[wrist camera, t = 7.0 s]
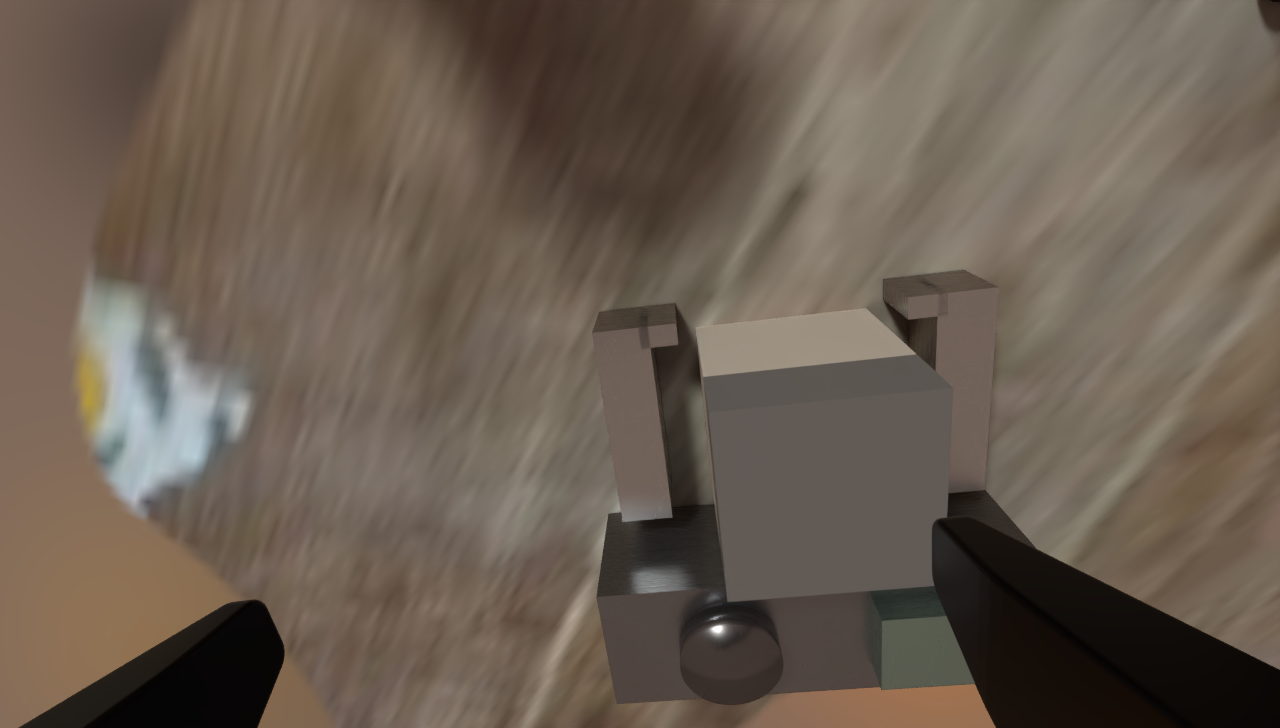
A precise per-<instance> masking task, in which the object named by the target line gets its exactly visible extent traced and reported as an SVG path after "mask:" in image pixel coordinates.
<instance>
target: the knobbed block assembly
mask: <svg viewBox="0 0 1280 728" xmlns="http://www.w3.org/2000/svg"><path fill="white" fill-rule="evenodd" d="M998 297H999V287H998V286H996V285H994V284H992V283H990V282H988V281H986V280H984V279H981V278H979V277H977V276H975V275H973V274H971V273H969V272H967V271H965V270H961V271H952V272H943V273H935V274H926V275H917V276H909V277H900V278H891V279H883V300H884V301H885V302H887V303H888V304H889V305H890V306H892V307H893V308H894V309H895V310H897V311H898V312H899V313H900V314H902V315H903V316H904V317H905V318H907V319H908V320H909V348H910V349H911V350H913V351H914V352H915V353H916V354H917V355H918V356H919V357H920V358H921V359H922V360H924V361H925V362H926V363H927V364H928V365H929V366H930V367H931V368H932V369H933V370H935V371H936V372H937V373H938V374H939V375H940V376H941V377H942V378H943V379H944V380H946V381H947V382H948V383H949V384H950V385H951V386H952V387H953V406H952V427H951V447H950V468H949V489H948V509H947V517H955V516H963V515H965V516H970V517H973V518H975V519H977V520H979V521H981V522H983V523H985V524H987V525H989V526H991V527H993V528H995V529H997V530H999V531H1001V532H1003V533H1005V534H1007V535H1009V536H1011V537H1013V538H1015V539H1017V540H1019V541H1021V542H1023V543H1025V544H1027V545H1029V546H1031V547H1033V548H1035V546H1034V545H1033V544H1032V543H1031V542H1030V541H1029V540H1028V538H1027V537H1026V536H1025V535H1024V534H1023V533H1022V532H1021V530H1020V529H1019V528H1018V527H1017V526H1016V525H1015V524H1014V522H1013V521H1012V520H1011V519H1010V518H1009V517H1008V516H1007V514H1006V513H1005V512H1004V511H1003V510H1002V509H1001V508H1000V506H999V505H998V504H997V503H996V502H995V501H994V500H993V498H992V497H991V496H990V495H989V494H988V493H987V492H986V490H985V476H986V463H987V449H988V435H989V421H990V407H991V394H992V380H993V366H994V352H995V339H996V325H997V311H998ZM592 336H593V342H594V348H595V355H596V361H597V367H598V373H599V379H600V385H601V391H602V397H603V404H604V410H605V416H606V422H607V428H608V434H609V440H610V447H611V453H612V459H613V465H614V471H615V477H616V483H617V489H618V496H619V502H620V508H621V513H612V514H608V521H607V528H606V535H605V542H604V549H603V556H602V563H601V570H600V576H599V583H598V590H597V602H598V607H599V613H600V618H601V623H602V629H603V634H604V639H605V644H606V650H607V655H608V660H609V665H610V671H611V676H612V681H613V686H614V692H615V697H616V702H617V704H625V703H640V702H656V701H671V700H687V699H702V698H703V699H705V700H708V701H711V702H714V703H718V704H726V705H737V704H744V703H749V702H752V701H755V700H757V699H759V698H761V697H763V696H765V695H766V694H779V693H794V692H810V691H825V690H841V689H856V688H872V687H881V689H882V690H888V689H903V688H918V687H933V686H949V685H965V684H975V682H974V680H973V678H972V675H971V673H970V671H969V668H968V666H967V664H966V661H965V659H964V656H963V654H962V652H961V649H960V647H959V645H958V642H957V640H956V637H955V635H954V633H953V630H952V628H951V626H950V623H949V621H948V619H947V616H946V614H945V611H944V609H943V607H942V604H941V602H940V600H939V597H938V595H937V592H936V590H935V586H927V587H914V588H902V589H889V590H876V591H863V592H851V593H838V594H825V595H812V596H800V597H787V598H774V599H761V600H748V601H736V602H728V601H727V593H726V586H725V579H724V571H723V564H722V556H721V549H720V541H719V534H718V527H717V519H716V512H715V504H713V505H702V506H690V507H679V508H672V480H671V472H670V464H669V456H668V448H667V440H666V433H665V425H664V417H663V409H662V401H661V394H660V386H659V378H658V370H657V362H656V354H655V347H663V346H672V345H678V333H677V319H676V311H675V303H673V304H665V305H656V306H647V307H639V308H630V309H621V310H613V311H604V312H599V314H598V317H597V320H596V323H595V326H594V328H593V331H592ZM1035 549H1036V548H1035Z"/></svg>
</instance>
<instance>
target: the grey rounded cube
mask: <svg viewBox="0 0 1280 728" xmlns="http://www.w3.org/2000/svg"><path fill="white" fill-rule="evenodd" d="M695 329H696V339H697V349H698V359H699V368H700V378H701V388H702V397H703V407H704V417H705V427H706V436H707V446H708V456H709V465H710V475H711V482H712V489H713V497H714V504H715V512H716V519H717V527H718V534H719V541H720V549H721V556H722V564H723V571H724V579H725V586H726V593H727V601H728V602H736V601H748V600H761V599H774V598H787V597H800V596H812V595H825V594H838V593H851V592H863V591H876V590H889V589H902V588H914V587H927V586H934V583H933V577H932V526H933V523H934V522H935V521H936V520H937V519H939V518H946V517H947V509H948V489H949V468H950V447H951V427H952V406H953V387H952V386H951V385H950V384H949V383H948V382H947V381H946V380H944V379H943V378H942V377H941V376H940V375H939V374H938V373H937V372H936V371H935V370H933V369H932V368H931V367H930V366H929V365H928V364H927V363H926V362H925V361H924V360H922V359H921V358H920V357H919V356H918V355H917V354H916V353H915V352H914V351H913V350H911V349H910V348H909V347H908V346H907V345H906V344H905V343H904V342H903V341H902V340H900V339H899V338H898V337H897V336H896V335H895V334H894V333H893V332H892V331H890V330H889V329H888V328H887V327H886V326H885V325H884V324H883V323H882V322H881V321H879V320H878V319H877V318H876V317H875V316H874V315H873V314H872V313H871V312H870V311H868V310H867V309H866V308H865V309H856V310H847V311H838V312H829V313H820V314H811V315H802V316H793V317H784V318H775V319H766V320H757V321H748V322H739V323H730V324H721V325H713V326H704V327H695Z"/></svg>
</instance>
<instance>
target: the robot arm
mask: <svg viewBox="0 0 1280 728" xmlns="http://www.w3.org/2000/svg"><path fill="white" fill-rule="evenodd" d="M1271 1H1272V2H1280V0H1271ZM932 577H933V583H934V586H935V590H936V592H937V595H938V597H939V600H940V602H941V604H942V607H943V609H944V611H945V614H946V616H947V619H948V621H949V623H950V626H951V628H952V630H953V633H954V635H955V637H956V640H957V642H958V645H959V647H960V649H961V652H962V654H963V656H964V659H965V661H966V664H967V666H968V668H969V671H970V673H971V675H972V678H973V680H974V682H975V685H976V687H977V689H978V691H979V694H980V696H981V698H982V700H983V703H984V705H985V707H986V709H987V711H988V713H989V715H990V717H991V719H992V721H993V723H994V725H995V726H996V728H1280V670H1279V669H1277V668H1275V667H1273V666H1271V665H1269V664H1267V663H1265V662H1263V661H1261V660H1259V659H1257V658H1255V657H1253V656H1251V655H1249V654H1247V653H1245V652H1243V651H1241V650H1239V649H1237V648H1235V647H1233V646H1231V645H1229V644H1227V643H1225V642H1223V641H1221V640H1218V639H1216V638H1214V637H1212V636H1210V635H1208V634H1206V633H1204V632H1202V631H1200V630H1198V629H1196V628H1194V627H1192V626H1190V625H1188V624H1186V623H1184V622H1182V621H1180V620H1178V619H1176V618H1174V617H1172V616H1170V615H1168V614H1166V613H1164V612H1162V611H1160V610H1158V609H1156V608H1154V607H1152V606H1150V605H1148V604H1146V603H1144V602H1142V601H1140V600H1138V599H1136V598H1134V597H1132V596H1130V595H1128V594H1126V593H1124V592H1122V591H1120V590H1118V589H1116V588H1114V587H1112V586H1110V585H1108V584H1106V583H1104V582H1102V581H1100V580H1098V579H1096V578H1094V577H1092V576H1090V575H1088V574H1086V573H1084V572H1082V571H1080V570H1077V569H1075V568H1073V567H1071V566H1069V565H1067V564H1065V563H1063V562H1061V561H1059V560H1057V559H1055V558H1053V557H1051V556H1049V555H1047V554H1045V553H1043V552H1041V551H1039V550H1037V549H1035V548H1033V547H1031V546H1029V545H1027V544H1025V543H1023V542H1021V541H1019V540H1017V539H1015V538H1013V537H1011V536H1009V535H1007V534H1005V533H1003V532H1001V531H999V530H997V529H995V528H993V527H991V526H989V525H987V524H985V523H983V522H981V521H979V520H977V519H975V518H973V517H970V516H965V515H963V516H955V517H946V518H939V519H937V520H936V521H935V522H934V523H933V526H932ZM284 653H285V650H284V645H283V642H282V639H281V637H280V635H279V633H278V631H277V628H276V626H275V624H274V622H273V620H272V618H271V615H270V613H269V611H268V609H267V607H266V605H265V604H264V603H262V602H261V601H259V600H246V601H237V602H231V603H228V604H225V605H224V606H222V607H220V608H218V609H217V610H215V611H213V612H212V613H210V614H208V615H207V616H205V617H203V618H201V619H200V620H198V621H196V622H195V623H193V624H191V625H190V626H188V627H187V628H185V629H183V630H182V631H180V632H178V633H177V634H175V635H173V636H171V637H170V638H168V639H166V640H165V641H163V642H161V643H160V644H158V645H156V646H155V647H153V648H151V649H150V650H148V651H146V652H144V653H143V654H141V655H140V656H138V657H136V658H135V659H133V660H131V661H129V662H128V663H126V664H124V665H123V666H121V667H119V668H118V669H116V670H114V671H113V672H111V673H109V674H108V675H106V676H104V677H103V678H101V679H99V680H98V681H96V682H94V683H93V684H91V685H89V686H88V687H86V688H84V689H82V690H81V691H79V692H77V693H76V694H74V695H72V696H71V697H69V698H67V699H66V700H64V701H63V702H61V703H59V704H57V705H56V706H54V707H52V708H51V709H49V710H48V711H46V712H44V713H42V714H41V715H39V716H37V717H36V718H34V719H32V720H31V721H29V722H27V723H25V724H24V725H22V726H20V727H19V728H258V725H259V723H260V720H261V717H262V715H263V713H264V710H265V707H266V705H267V703H268V700H269V697H270V695H271V693H272V690H273V687H274V685H275V683H276V680H277V678H278V675H279V673H280V670H281V668H282V665H283V661H284Z"/></svg>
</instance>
